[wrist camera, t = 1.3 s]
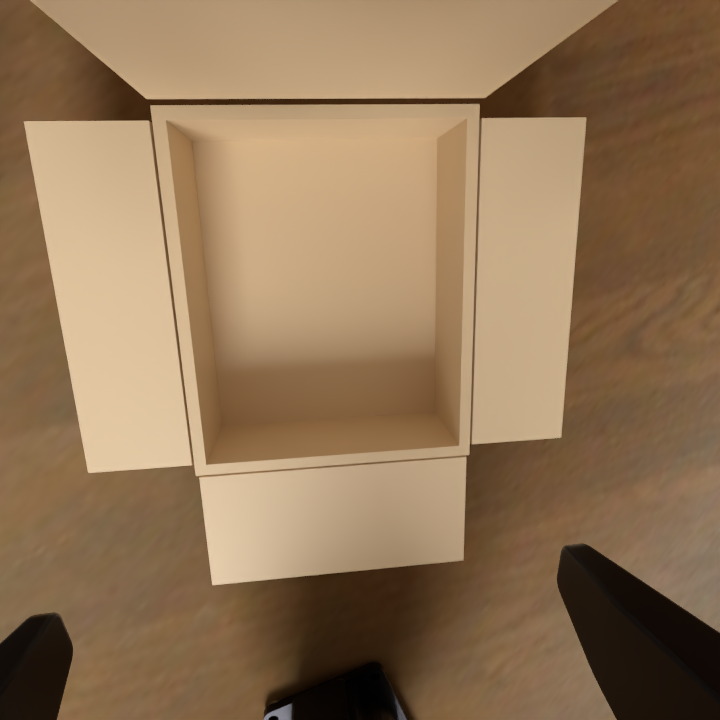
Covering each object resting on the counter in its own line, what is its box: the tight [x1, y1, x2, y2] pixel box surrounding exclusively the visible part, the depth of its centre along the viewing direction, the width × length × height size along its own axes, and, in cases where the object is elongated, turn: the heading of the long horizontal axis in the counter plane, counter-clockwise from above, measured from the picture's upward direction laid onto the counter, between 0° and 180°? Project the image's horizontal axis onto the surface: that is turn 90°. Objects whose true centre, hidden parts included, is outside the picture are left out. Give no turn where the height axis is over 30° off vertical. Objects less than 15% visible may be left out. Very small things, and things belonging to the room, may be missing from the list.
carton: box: [24, 104, 586, 585], centre depth 19 cm, size 17×17×4 cm
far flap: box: [30, 0, 618, 99], centre depth 11 cm, size 1×10×7 cm, turn 92°
